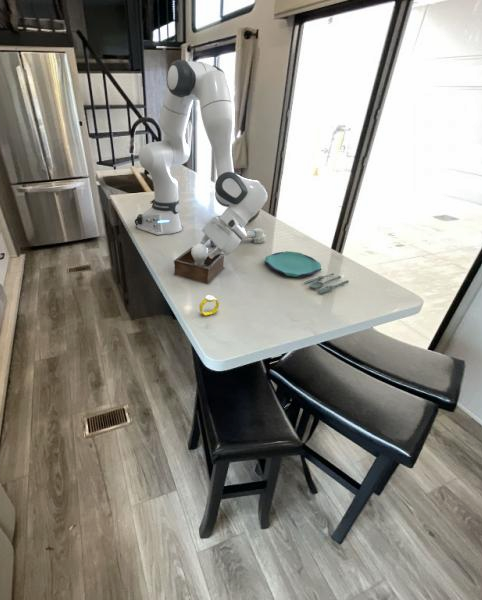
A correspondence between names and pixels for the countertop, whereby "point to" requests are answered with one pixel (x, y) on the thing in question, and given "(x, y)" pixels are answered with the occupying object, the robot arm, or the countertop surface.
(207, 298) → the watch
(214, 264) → the brown wooden box
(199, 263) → the lightbulb
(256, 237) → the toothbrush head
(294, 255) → the cutlery set
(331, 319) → the countertop surface
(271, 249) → the countertop surface
